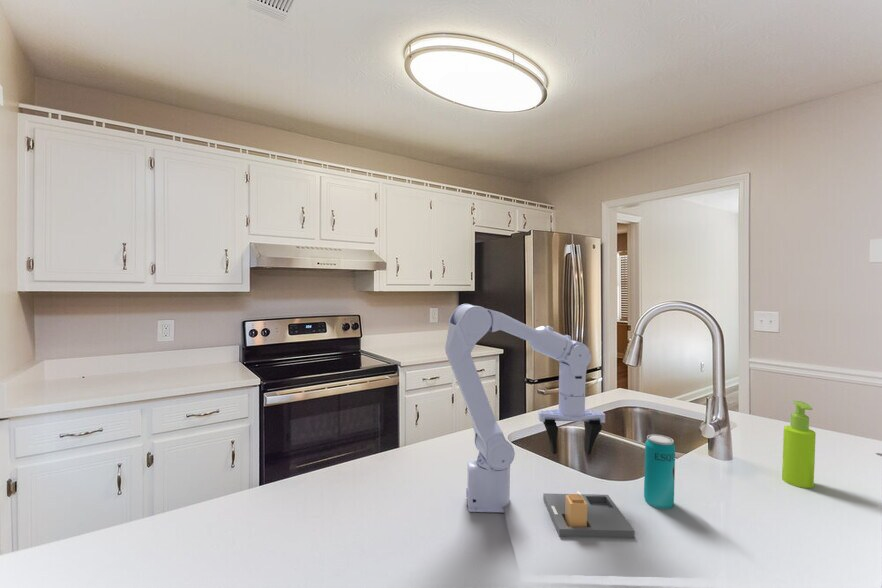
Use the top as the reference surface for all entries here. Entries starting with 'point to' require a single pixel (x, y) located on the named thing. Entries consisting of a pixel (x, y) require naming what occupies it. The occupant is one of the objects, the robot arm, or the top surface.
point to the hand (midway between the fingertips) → (570, 452)
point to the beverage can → (659, 471)
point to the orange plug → (575, 511)
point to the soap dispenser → (799, 449)
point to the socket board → (590, 517)
